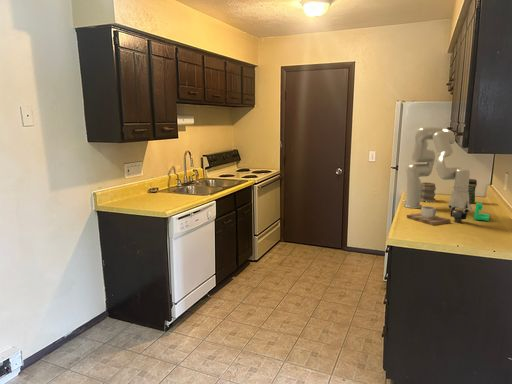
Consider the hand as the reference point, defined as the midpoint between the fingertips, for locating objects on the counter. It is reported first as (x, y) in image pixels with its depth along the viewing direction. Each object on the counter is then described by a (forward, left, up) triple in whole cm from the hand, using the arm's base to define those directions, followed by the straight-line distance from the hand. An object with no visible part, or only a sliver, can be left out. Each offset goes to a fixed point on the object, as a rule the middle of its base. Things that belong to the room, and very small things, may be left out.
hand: (458, 217), depth 226 cm
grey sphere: (0, 0, -3) cm, 3 cm away
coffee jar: (-38, +58, -3) cm, 69 cm away
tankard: (-59, +33, -3) cm, 68 cm away
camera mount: (+1, +20, -3) cm, 20 cm away
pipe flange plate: (-10, -14, -3) cm, 17 cm away
